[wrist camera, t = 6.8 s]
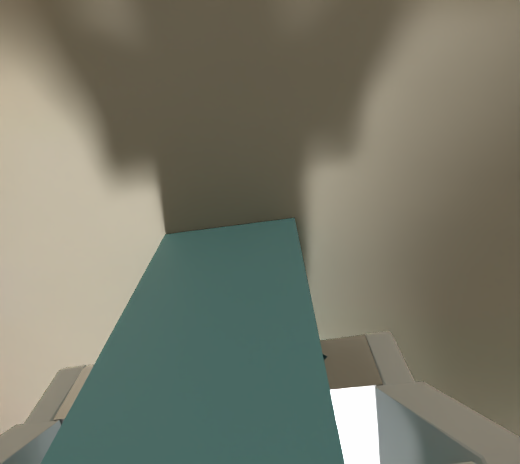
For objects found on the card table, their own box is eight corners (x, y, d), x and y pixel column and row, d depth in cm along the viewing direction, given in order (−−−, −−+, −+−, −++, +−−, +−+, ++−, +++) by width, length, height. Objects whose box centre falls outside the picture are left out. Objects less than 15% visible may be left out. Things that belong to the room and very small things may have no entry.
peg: (307, 330, 14) (402, 890, 5) (189, 343, 14) (48, 908, 5) (294, 218, 13) (389, 672, 3) (165, 234, 13) (-93, 708, 3)
